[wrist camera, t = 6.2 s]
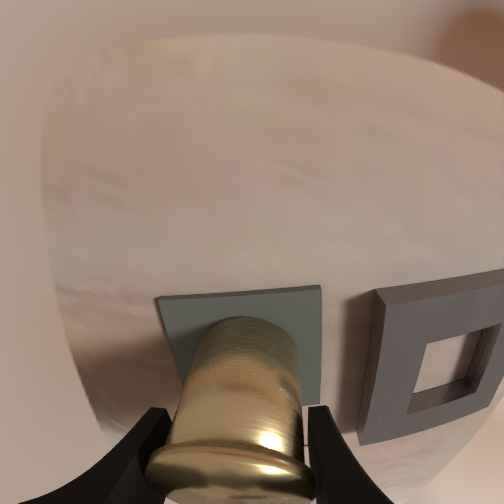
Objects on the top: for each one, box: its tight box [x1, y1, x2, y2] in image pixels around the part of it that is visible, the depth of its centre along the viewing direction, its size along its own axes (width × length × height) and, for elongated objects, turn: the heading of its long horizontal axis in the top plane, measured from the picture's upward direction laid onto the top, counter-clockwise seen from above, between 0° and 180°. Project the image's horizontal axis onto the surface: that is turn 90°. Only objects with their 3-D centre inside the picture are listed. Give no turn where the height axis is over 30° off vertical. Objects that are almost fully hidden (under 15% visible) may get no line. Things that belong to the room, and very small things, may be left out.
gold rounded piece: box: [145, 317, 316, 504], centre depth 10 cm, size 5×5×7 cm
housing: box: [356, 269, 504, 446], centre depth 13 cm, size 10×10×2 cm
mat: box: [158, 285, 322, 406], centre depth 13 cm, size 7×7×1 cm
